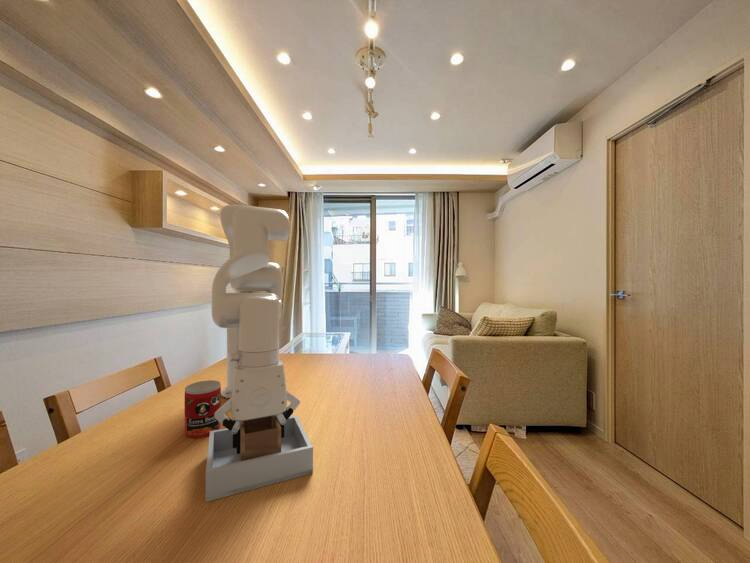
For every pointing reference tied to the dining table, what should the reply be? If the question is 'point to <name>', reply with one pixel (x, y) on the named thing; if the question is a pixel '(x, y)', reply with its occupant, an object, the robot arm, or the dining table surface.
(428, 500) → the dining table surface
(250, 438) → the small crate
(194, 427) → the canned food
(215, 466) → the large crate
